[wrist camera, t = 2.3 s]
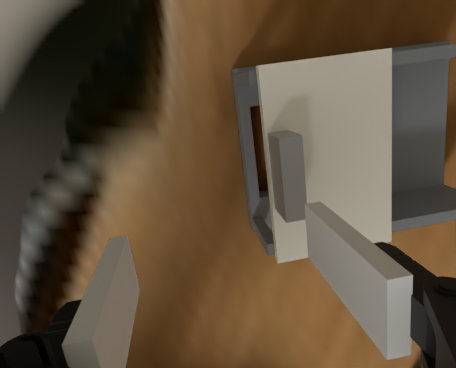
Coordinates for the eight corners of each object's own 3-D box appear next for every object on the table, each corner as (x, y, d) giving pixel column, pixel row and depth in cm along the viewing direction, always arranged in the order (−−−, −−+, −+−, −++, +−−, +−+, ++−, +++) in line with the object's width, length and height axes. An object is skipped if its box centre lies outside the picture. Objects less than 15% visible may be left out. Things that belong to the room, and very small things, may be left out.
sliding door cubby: (249, 224, 38) (268, 260, 30) (231, 69, 33) (247, 64, 25) (430, 192, 40) (491, 218, 32) (435, 42, 35) (508, 29, 27)
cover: (275, 258, 30) (289, 282, 26) (255, 66, 25) (268, 62, 22) (386, 237, 31) (414, 258, 27) (385, 48, 26) (419, 42, 23)
